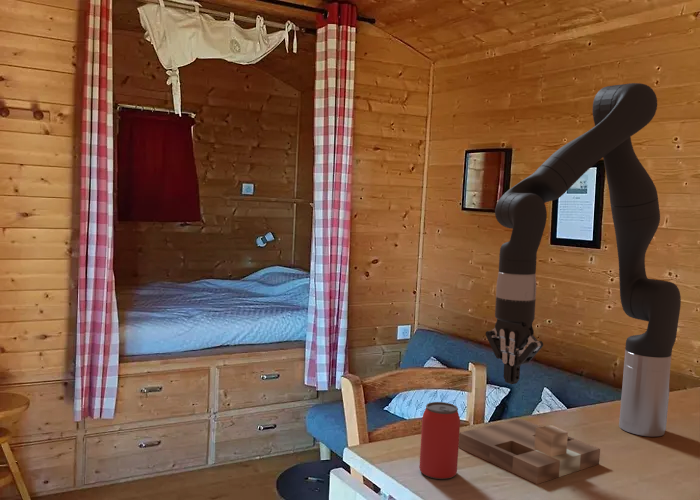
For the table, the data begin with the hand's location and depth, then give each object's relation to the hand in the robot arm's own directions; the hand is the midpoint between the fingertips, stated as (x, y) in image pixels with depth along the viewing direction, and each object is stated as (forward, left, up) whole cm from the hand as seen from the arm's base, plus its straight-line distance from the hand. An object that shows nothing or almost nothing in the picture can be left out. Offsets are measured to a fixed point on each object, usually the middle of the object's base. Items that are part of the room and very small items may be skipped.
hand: (511, 382), depth 131 cm
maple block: (+1, +11, -10) cm, 15 cm away
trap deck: (0, +5, -13) cm, 14 cm away
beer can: (+21, +3, -13) cm, 25 cm away
